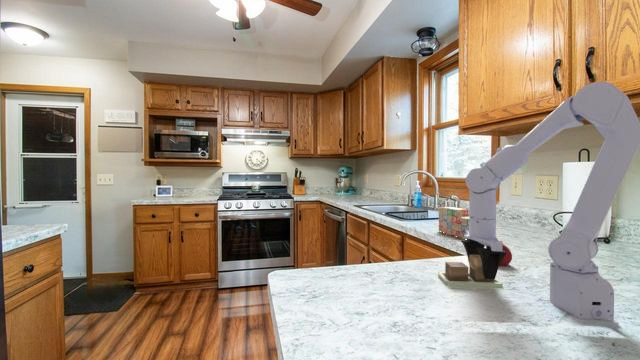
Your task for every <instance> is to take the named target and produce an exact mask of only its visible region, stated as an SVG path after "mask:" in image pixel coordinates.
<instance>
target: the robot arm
mask: <svg viewBox="0 0 640 360" xmlns="http://www.w3.org/2000/svg"><path fill="white" fill-rule="evenodd" d="M583 120H585V121H586V122H589V123H590V124H592V125H593V126H594V127H595V129H597V131H598V132H599V133H600V134H601V136H602V137H603V138H604V140H603V143H602V146H600V147H601V148H600V150H599V153H598V154H597V157H595V161H594V163H593V166H592V167H591V170H590V172H589V175H588V177H587V179H586V181H585V184H584V186H583V188H582V190H581V193H580V195H579V197H578V199H577V201H576V204H575V205H574V208H573V211H572V213H571V215H570V217H569V219H568V220H567V222H566V224H565V225H564V227H563V229H562V231H561V233H560V234H559V235H558V236H557V237H556V238H554V239H552V240H551V241H550V243H549V245H548V250H547V252H548V254H549V257H550V259H551V260H550V261H549V302H550V304H552V305H553V306H555V307H558V309H559V308H560V309H562V310H564V311H566V312H567V313H569V314H571V315H572V316H575V318H578V319H580V320H581V319H585V320H607V321H608V320H609V321H610V322H612V323H614V324H615V325H617V326H619V325H620V323H619V321H617V320H615V318H614V316H615V312H614V311H615V290H614V287H613V286H612V284H611V283H610V281H608V280H606V279H605V278H604V277H603V276H602V275H600V273H599V266H597V264H596V263H595V262H594V261H593V260H592V259H594V258H595V257H596V256H597V254H598V252H599V245H598V237H599V235H600V232H601V228H602V226H603V224H604V222H605V220H606V217H607V216H608V213H609V211H610V209H611V207H612V206H613V203H614V200H615V198H616V196H617V194H618V193H619V190H620V188H621V186H622V184H623V182H624V179H625V178H626V175H627V173H628V172H629V169H630V167H631V165H632V162H633V161H634V159H635V157H636V154H637V153H638V150H639V148H640V119H639V118H638V115H637V113H636V112H635V109H634V107H633V105H632V103H631V101H630V99H629V96H628V95H627V94H625V93H624V92H623V91H622V90H621V89H619V88H618V87H617V86H616V85H614V84H612V83H610V82H606V81H597V82H592V83H589V84H587V85H585V86H582V87H581V88H580V89H578V91H577V92H576V93H575V94H574V96H572V95H571V96H569V97H568V98H567V99H565V100H564V101H562V103H560V104H559V105H558V106H557V107H556V108H555V109H554V110H553V111H552V112H551V113H550V114H548V115H547V116H546V117H545V118H544V119H542V121H540V123H538V124H537V125H536V126H535V127H533V128H532V130H531V131H529V132H528V133H527V134H526V135H525V136H524V137H523V138H521V140H519V141H518V142H517V143H516V144H507V145H505V146H504V147H500V146H499V147H498V148H497V149H495V152H496V153H495V154H493V156H492V157H490V158H489V159H488V160H487V161H485V162H481V163H480V164H479V166H480V167H476V168H472V169H471V170H470V171H469V172H468V174H467V175H466V176H465V185H466V187H467V188H468V190H469V201H468V202H469V203H468V204H469V206H468V207H469V209H468V216H469V230H466V235H464V238H466V239H467V240H465V239H461V241H460V242H461V243H462V245H463V247H464V249H465V252H466V256H467V260H468V262H469V258H470V255H480V257H481V261H482V267H483V275H484V278H485V279H495V278H497V277H496V276H497V273H498V270H499V267H500V263H501V261H502V259H503V258H504V257H505V256H506V251H504V250H502V243H503V241H502V242H500V241H501V240H499V238H498V237H497V190H498V189H499V188H500V186H501V182H504V181H505V180H507V179H508V178H509V177H510V176H511V175H513V174H514V173H516V172H517V171H519V169H521V168H523V167H524V166H525V165H526V164H528V163H527V162H528V157H529V154H531V153H532V152H533V151H535V150H536V149H538V148H540V147H541V146H543V145H544V144H545V143H547V141H549V140H550V139H551V140H552V138H553V137H555V136H556V135H558V134H559V133H561V132H562V131H563V130H565V129H571V128H576V127H581V126H582V127H583V126H585V124H584V122H583Z"/></svg>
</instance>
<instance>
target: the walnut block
mask: <svg viewBox="0 0 640 360" xmlns="http://www.w3.org/2000/svg"><path fill="white" fill-rule="evenodd" d="M444 265H445V269H444V270H445V277H446V278H447V279H448V280H449V281H468V273H469V266H467V265H466V264H465V263H463V262H462V261H445V262H444Z"/></svg>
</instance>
